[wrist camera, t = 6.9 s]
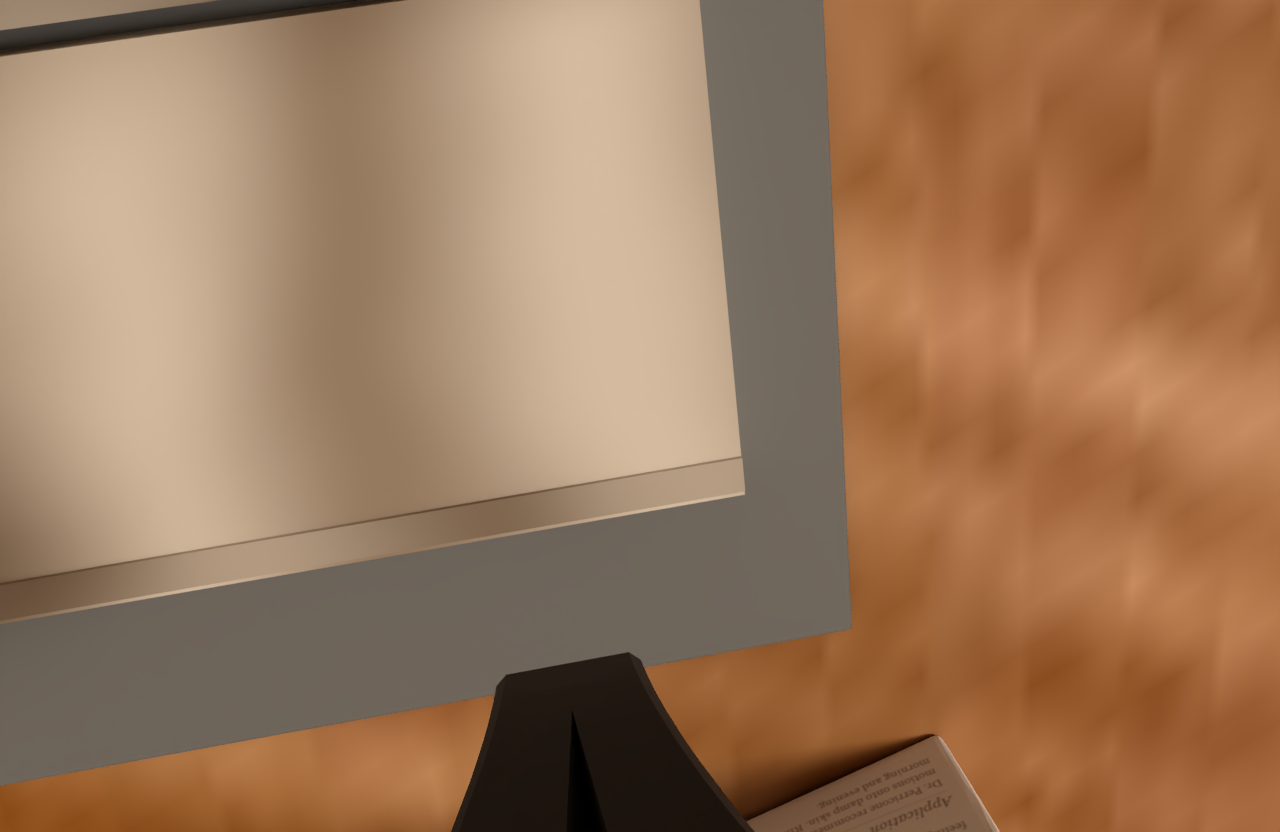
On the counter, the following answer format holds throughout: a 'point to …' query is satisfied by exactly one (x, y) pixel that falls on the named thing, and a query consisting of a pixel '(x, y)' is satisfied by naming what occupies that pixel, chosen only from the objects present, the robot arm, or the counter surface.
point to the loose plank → (352, 290)
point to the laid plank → (73, 10)
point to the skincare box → (889, 798)
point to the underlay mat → (523, 563)
